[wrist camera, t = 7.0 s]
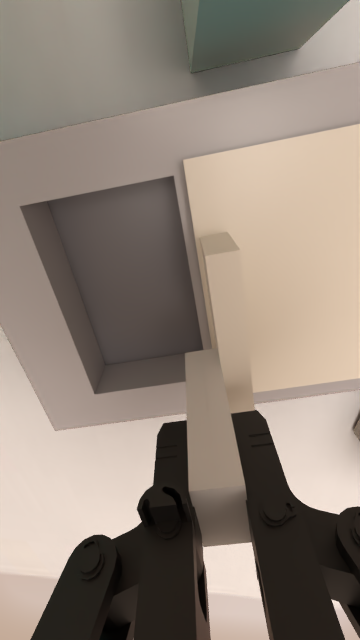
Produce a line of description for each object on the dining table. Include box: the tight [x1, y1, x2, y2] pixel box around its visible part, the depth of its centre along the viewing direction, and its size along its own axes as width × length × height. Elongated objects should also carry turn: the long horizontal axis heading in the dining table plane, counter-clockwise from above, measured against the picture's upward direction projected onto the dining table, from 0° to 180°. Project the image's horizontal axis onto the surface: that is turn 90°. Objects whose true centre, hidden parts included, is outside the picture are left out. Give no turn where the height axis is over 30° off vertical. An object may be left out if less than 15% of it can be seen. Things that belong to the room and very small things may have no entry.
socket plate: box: [0, 62, 360, 431], centre depth 17 cm, size 16×21×4 cm
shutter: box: [183, 124, 360, 413], centre depth 13 cm, size 12×8×4 cm, turn 10°
